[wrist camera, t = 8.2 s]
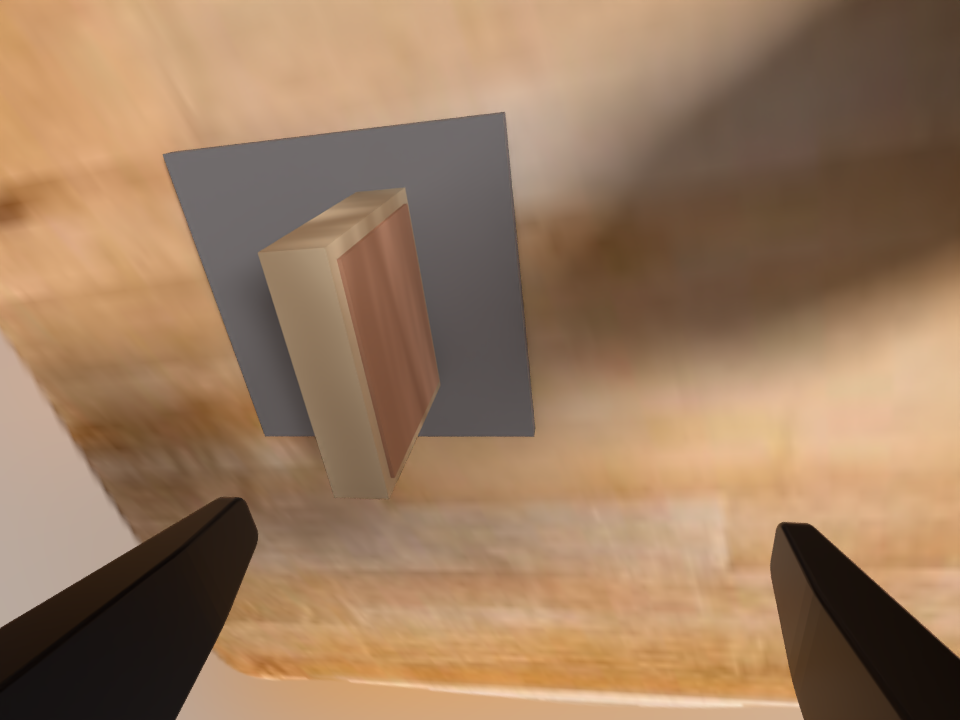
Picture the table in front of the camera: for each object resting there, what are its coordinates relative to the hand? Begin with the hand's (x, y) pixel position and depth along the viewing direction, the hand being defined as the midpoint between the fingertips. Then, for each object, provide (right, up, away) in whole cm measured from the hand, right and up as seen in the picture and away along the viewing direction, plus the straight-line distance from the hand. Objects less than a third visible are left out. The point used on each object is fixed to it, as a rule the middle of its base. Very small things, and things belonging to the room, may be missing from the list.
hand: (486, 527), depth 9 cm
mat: (-4, +5, +11) cm, 12 cm away
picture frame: (-3, +5, +10) cm, 11 cm away
